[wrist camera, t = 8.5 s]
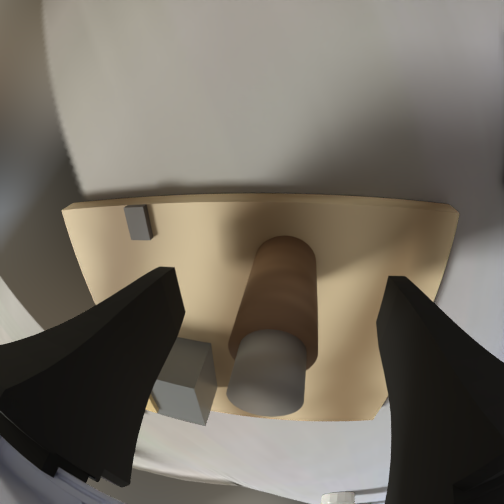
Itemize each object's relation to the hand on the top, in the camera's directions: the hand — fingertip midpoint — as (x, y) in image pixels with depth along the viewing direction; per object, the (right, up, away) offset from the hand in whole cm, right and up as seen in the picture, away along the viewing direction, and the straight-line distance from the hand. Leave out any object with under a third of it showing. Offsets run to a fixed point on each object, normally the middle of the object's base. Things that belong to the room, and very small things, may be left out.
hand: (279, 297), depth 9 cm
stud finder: (-6, -5, +7) cm, 10 cm away
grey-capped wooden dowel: (0, +1, +2) cm, 2 cm away
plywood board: (-1, -3, +6) cm, 7 cm away
